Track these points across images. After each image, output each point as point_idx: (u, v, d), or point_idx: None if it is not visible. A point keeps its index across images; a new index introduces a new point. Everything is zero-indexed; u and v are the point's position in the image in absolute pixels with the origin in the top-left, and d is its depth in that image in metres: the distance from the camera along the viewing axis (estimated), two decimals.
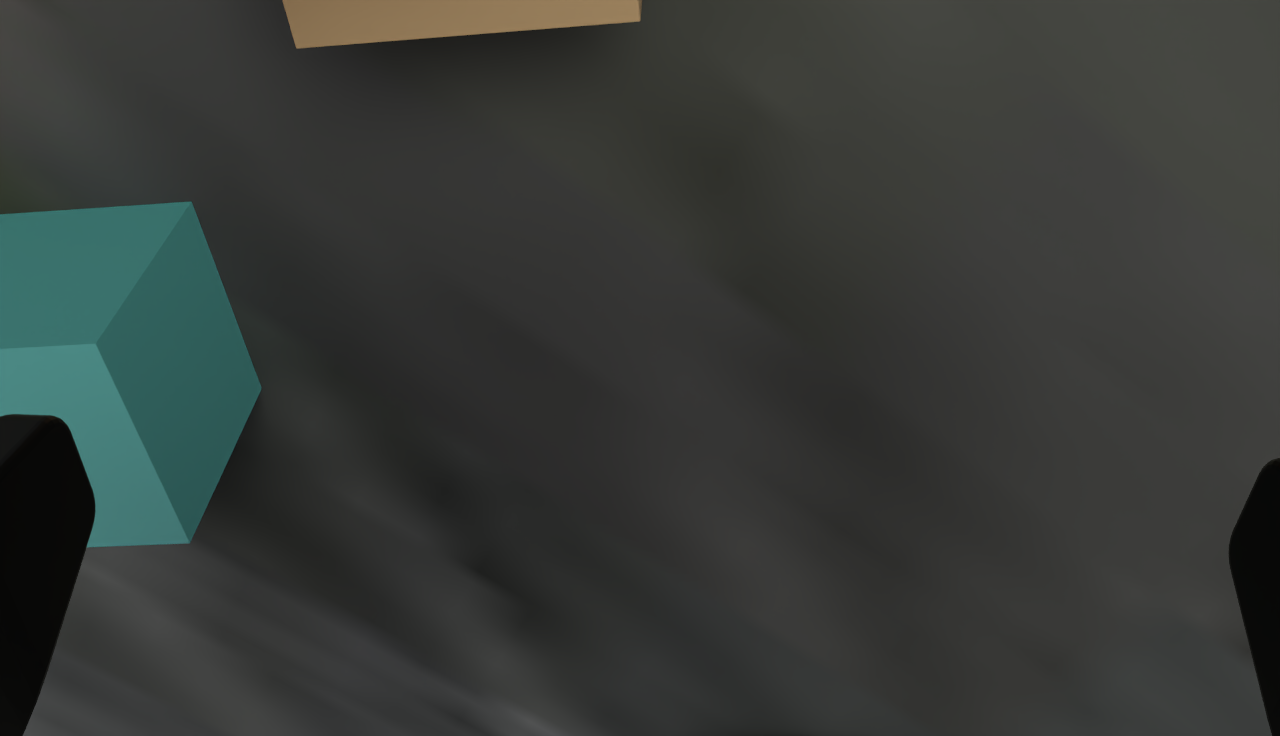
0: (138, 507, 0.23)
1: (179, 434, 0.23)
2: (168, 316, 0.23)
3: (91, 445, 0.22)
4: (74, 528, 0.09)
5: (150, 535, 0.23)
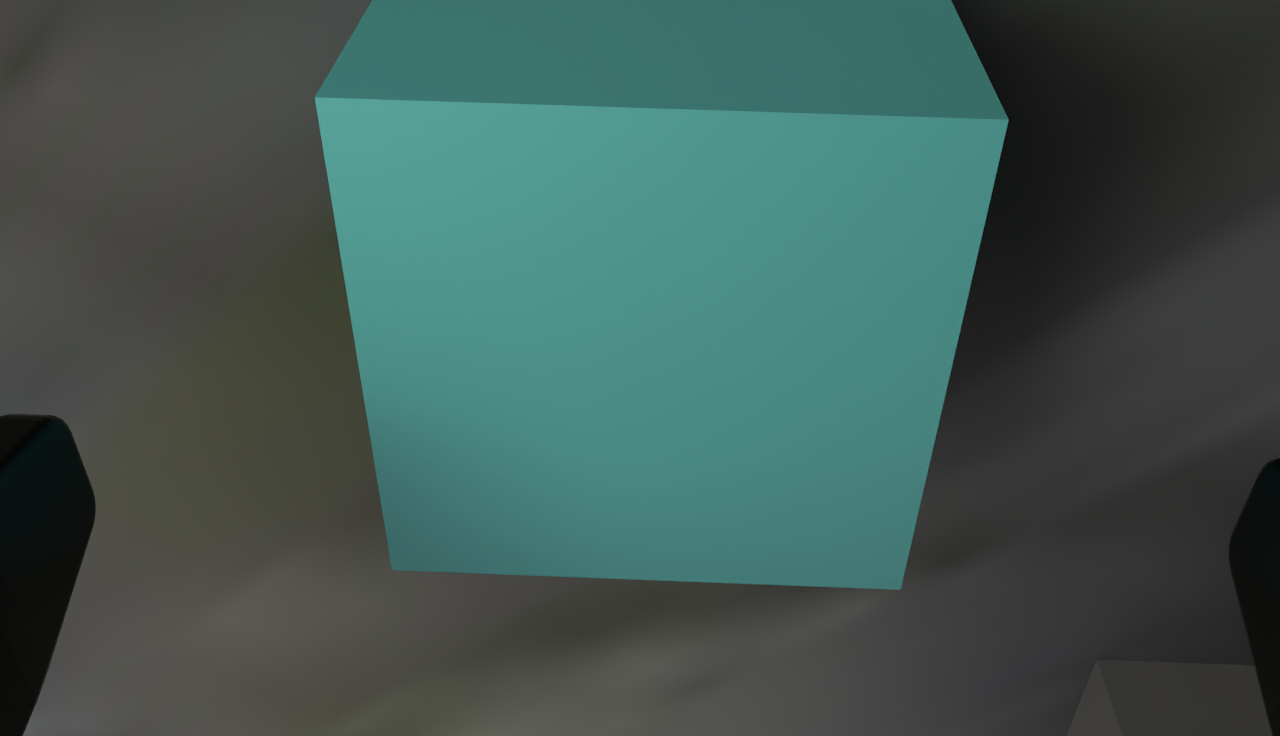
0: (849, 196, 0.09)
1: (743, 46, 0.09)
2: None
3: (632, 225, 0.09)
4: (74, 528, 0.09)
5: (953, 207, 0.09)
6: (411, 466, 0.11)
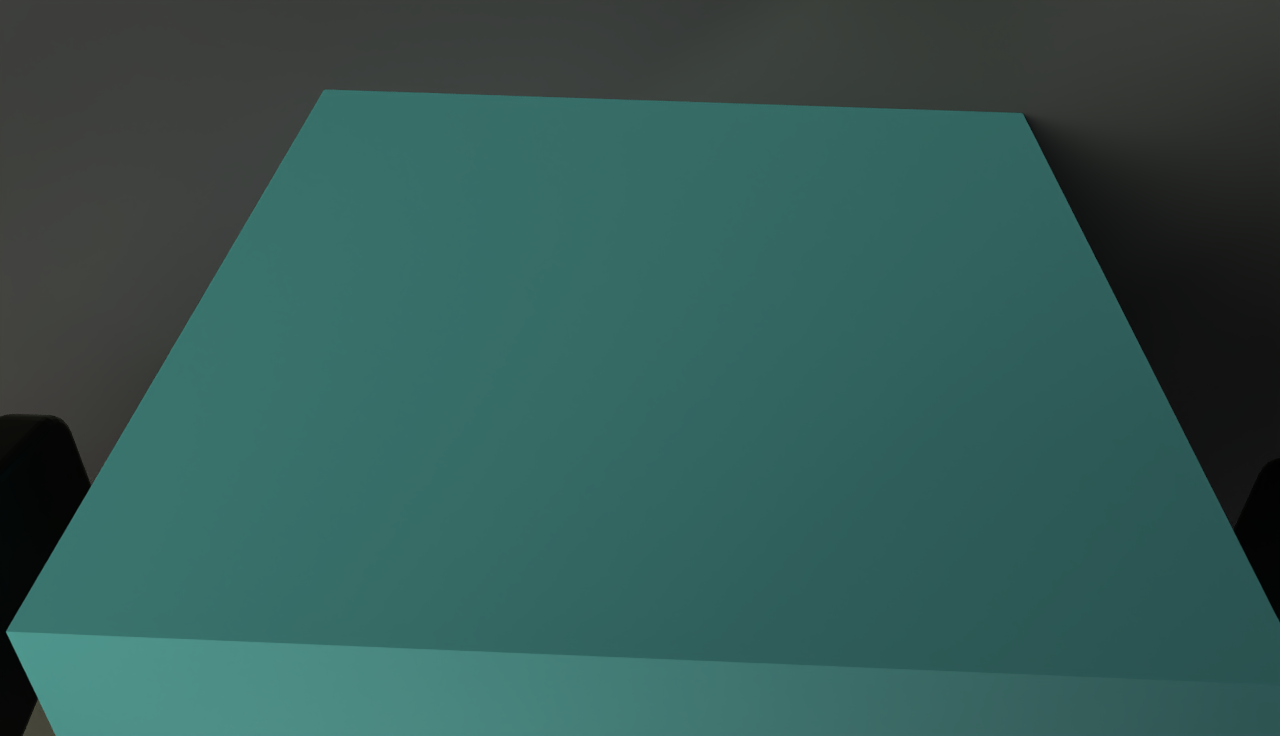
0: None
1: (800, 459, 0.05)
2: (427, 286, 0.06)
3: None
4: None
5: None
6: None
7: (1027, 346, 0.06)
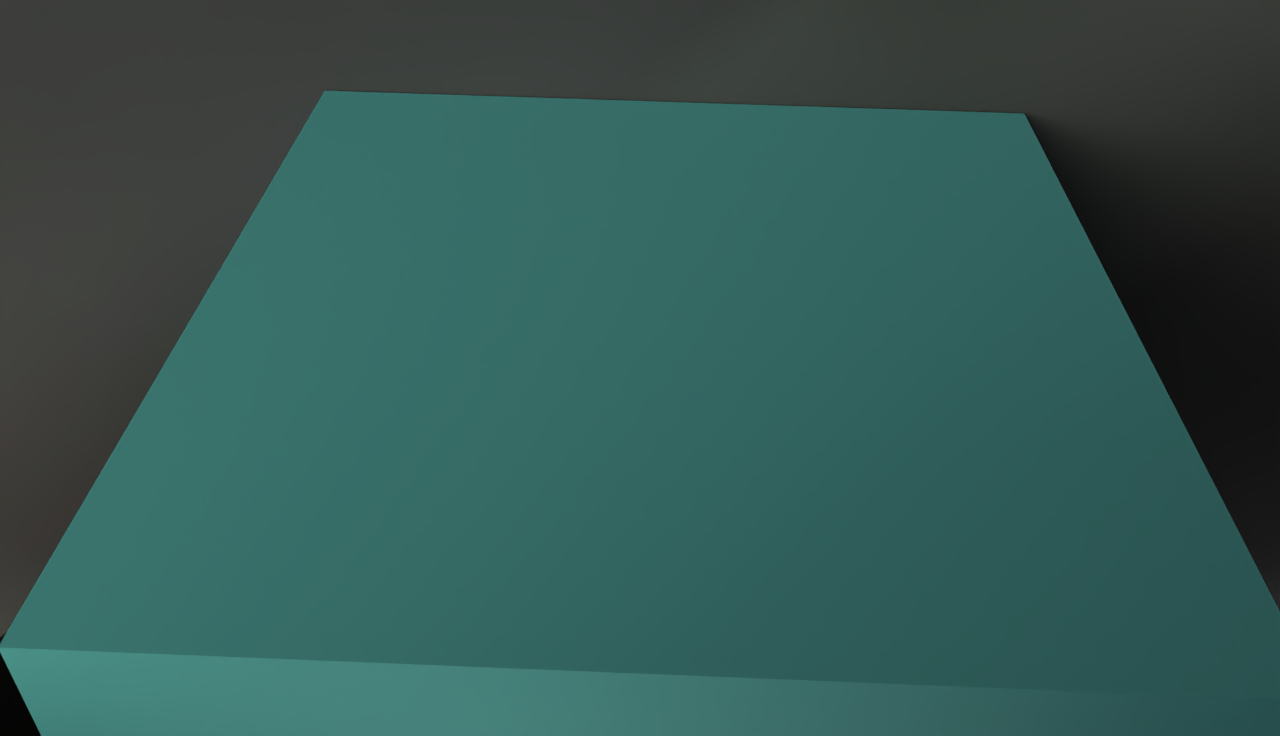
0: None
1: (802, 466, 0.05)
2: (425, 292, 0.06)
3: None
4: None
5: None
6: None
7: (1033, 354, 0.06)
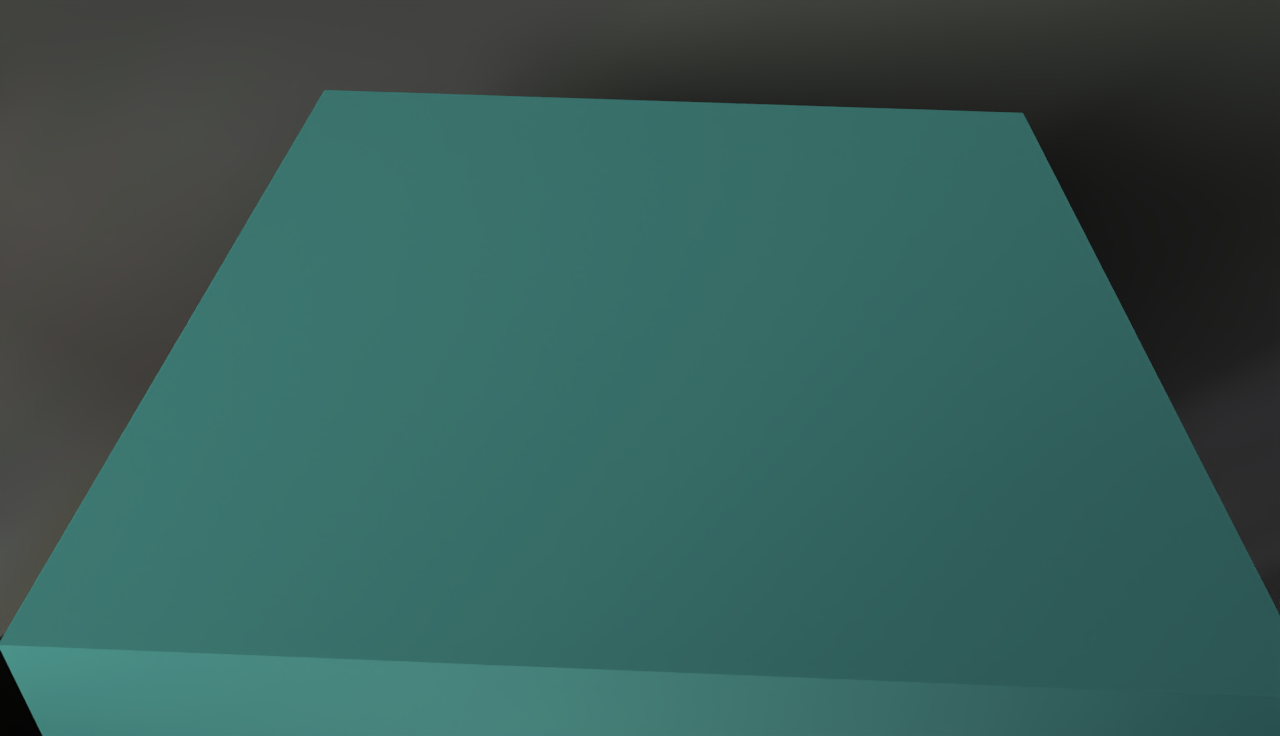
0: None
1: (802, 466, 0.05)
2: (423, 292, 0.06)
3: None
4: None
5: None
6: None
7: (1031, 353, 0.06)
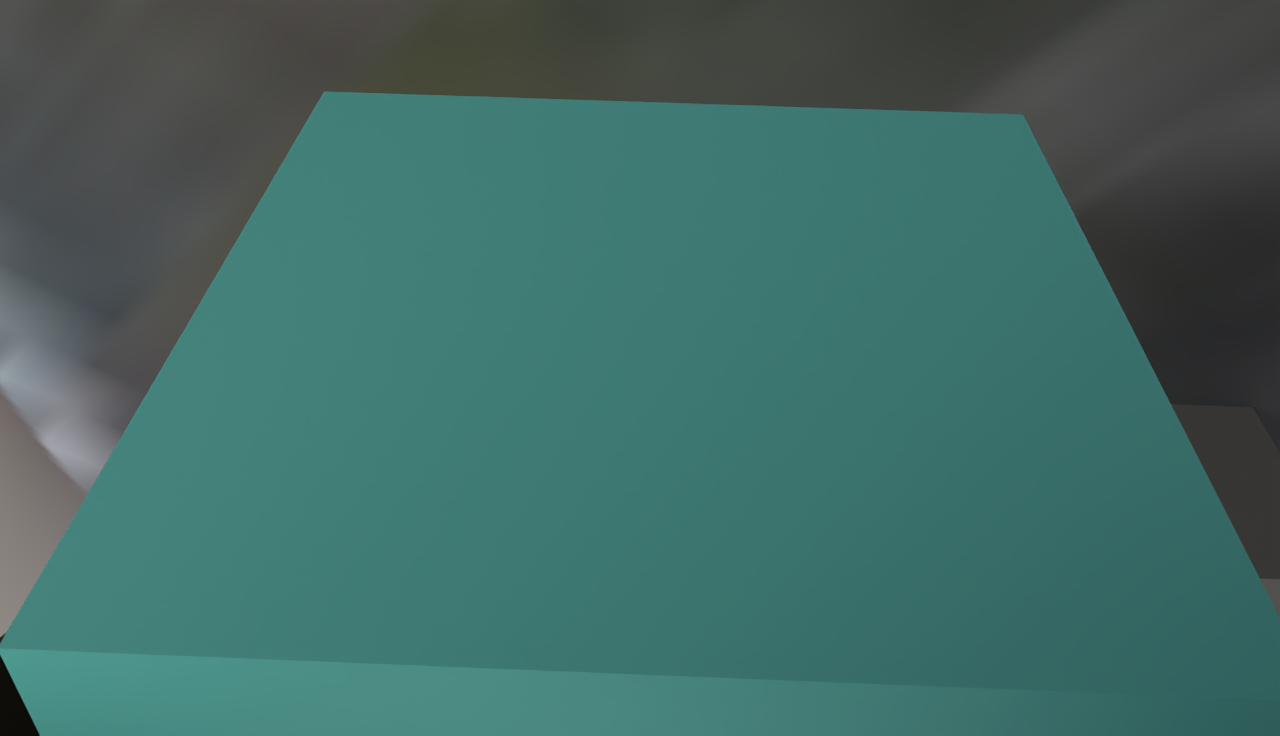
0: None
1: (802, 469, 0.05)
2: (423, 296, 0.06)
3: None
4: None
5: None
6: None
7: (1031, 355, 0.06)
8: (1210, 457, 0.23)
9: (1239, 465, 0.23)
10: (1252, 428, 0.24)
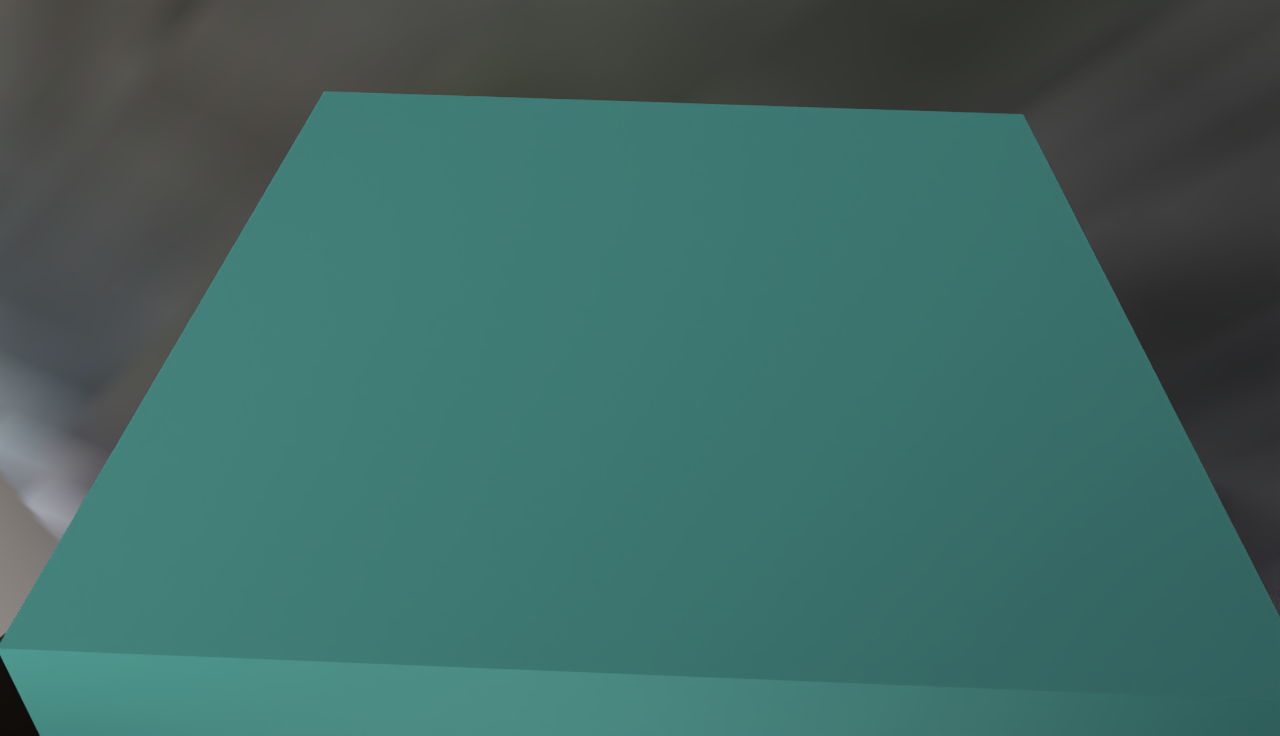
0: None
1: (800, 469, 0.05)
2: (423, 294, 0.06)
3: None
4: None
5: None
6: None
7: (1031, 355, 0.06)
8: None
9: None
10: None
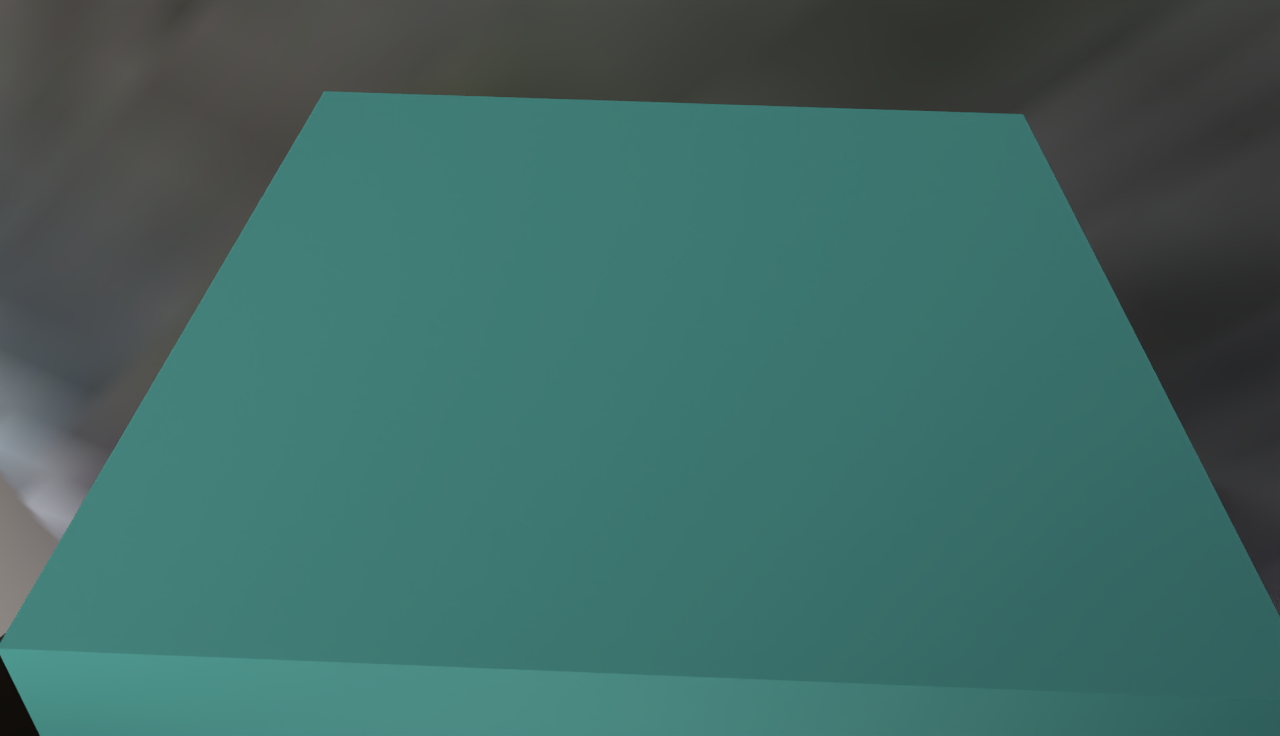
0: None
1: (800, 469, 0.05)
2: (423, 294, 0.06)
3: None
4: None
5: None
6: None
7: (1031, 355, 0.06)
8: None
9: None
10: None
